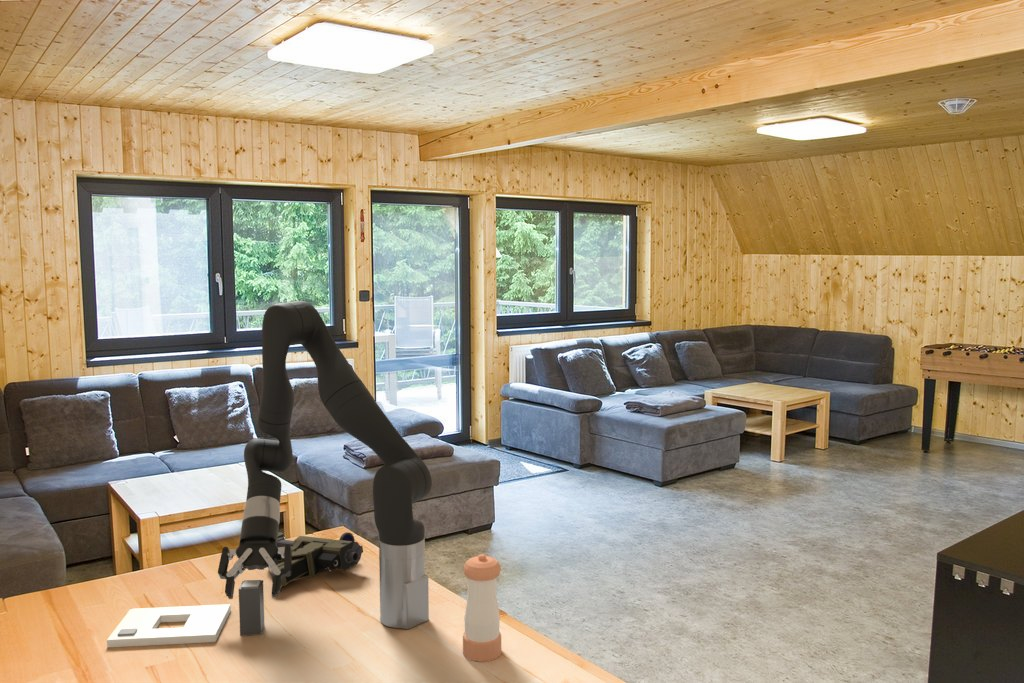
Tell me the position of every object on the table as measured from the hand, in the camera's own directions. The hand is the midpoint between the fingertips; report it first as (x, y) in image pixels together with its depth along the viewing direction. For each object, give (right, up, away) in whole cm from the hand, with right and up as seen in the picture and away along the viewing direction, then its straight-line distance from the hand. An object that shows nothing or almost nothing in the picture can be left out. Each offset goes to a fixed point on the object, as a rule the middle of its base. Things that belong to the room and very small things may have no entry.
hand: (252, 596), depth 168 cm
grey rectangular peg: (0, -7, 0) cm, 7 cm away
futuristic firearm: (+1, -3, +32) cm, 32 cm away
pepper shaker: (+46, -8, -9) cm, 48 cm away
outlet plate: (-16, -7, 0) cm, 17 cm away
